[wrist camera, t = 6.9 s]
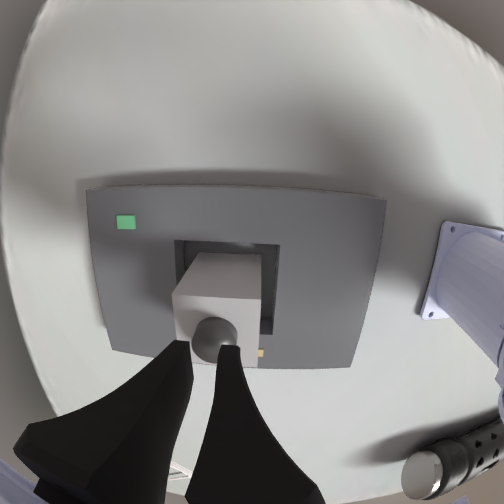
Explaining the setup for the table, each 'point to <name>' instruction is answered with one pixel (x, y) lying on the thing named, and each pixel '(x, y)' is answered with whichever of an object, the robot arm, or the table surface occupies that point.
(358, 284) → the charging plate
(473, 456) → the muzzle brake
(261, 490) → the robot arm
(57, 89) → the table surface
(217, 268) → the charger plug
